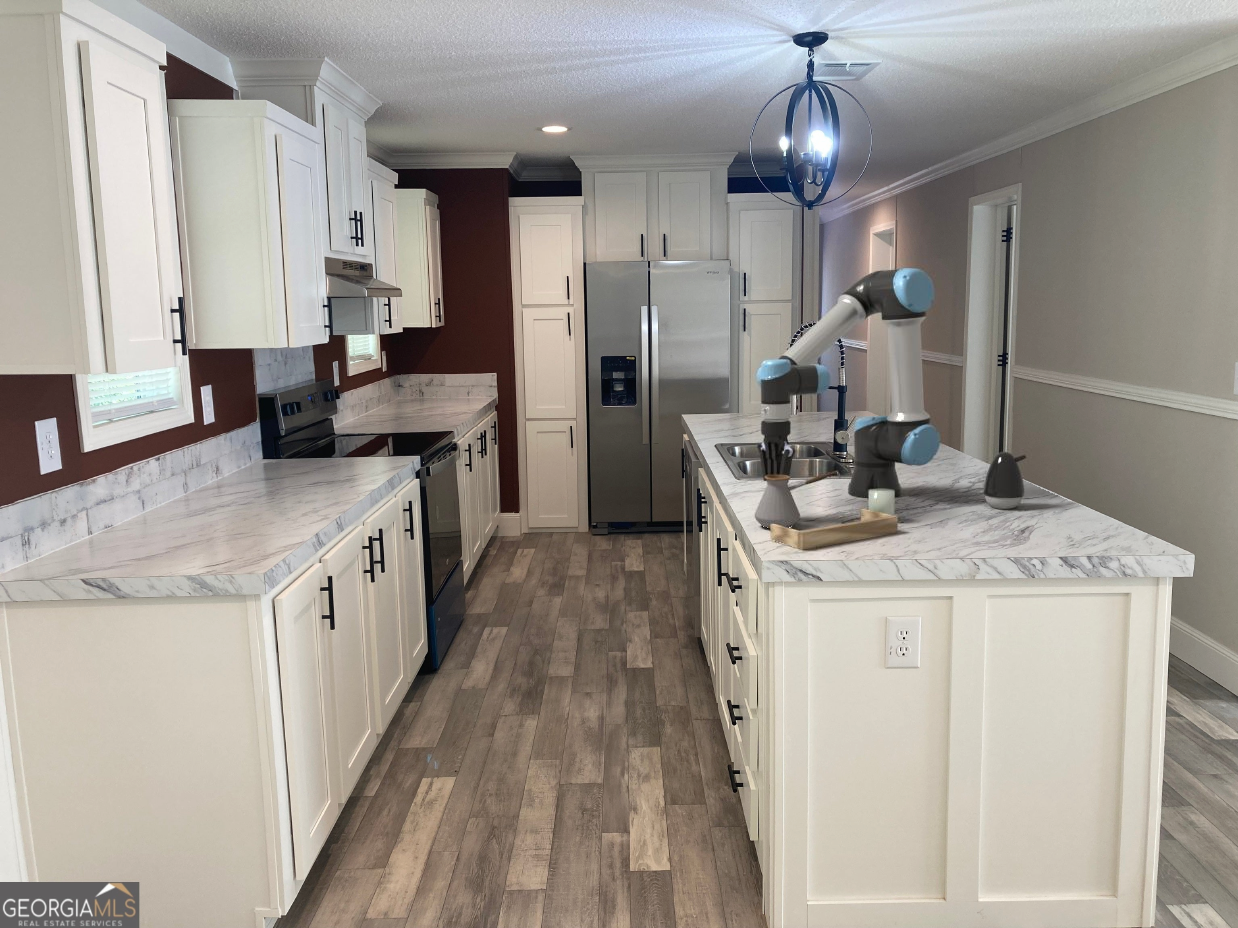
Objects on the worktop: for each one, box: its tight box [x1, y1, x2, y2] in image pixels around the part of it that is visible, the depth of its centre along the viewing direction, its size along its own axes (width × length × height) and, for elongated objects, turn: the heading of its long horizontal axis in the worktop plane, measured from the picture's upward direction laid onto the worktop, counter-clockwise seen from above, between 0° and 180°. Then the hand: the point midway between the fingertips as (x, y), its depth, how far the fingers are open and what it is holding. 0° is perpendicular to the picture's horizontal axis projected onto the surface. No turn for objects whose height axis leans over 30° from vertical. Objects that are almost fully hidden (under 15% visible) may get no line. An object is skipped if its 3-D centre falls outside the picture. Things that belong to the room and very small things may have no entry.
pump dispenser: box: [983, 451, 1027, 510], centre depth 251 cm, size 10×10×15 cm
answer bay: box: [769, 508, 899, 551], centre depth 225 cm, size 12×30×4 cm, turn 119°
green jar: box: [867, 488, 896, 516], centre depth 240 cm, size 6×6×8 cm
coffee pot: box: [754, 470, 841, 528], centre depth 235 cm, size 21×12×15 cm, turn 71°
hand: (775, 509), depth 244 cm, fingers closed
